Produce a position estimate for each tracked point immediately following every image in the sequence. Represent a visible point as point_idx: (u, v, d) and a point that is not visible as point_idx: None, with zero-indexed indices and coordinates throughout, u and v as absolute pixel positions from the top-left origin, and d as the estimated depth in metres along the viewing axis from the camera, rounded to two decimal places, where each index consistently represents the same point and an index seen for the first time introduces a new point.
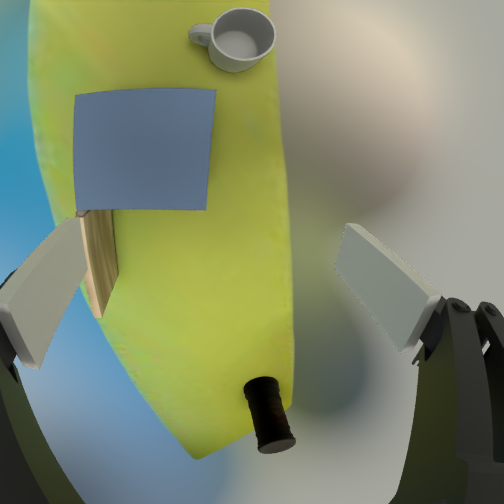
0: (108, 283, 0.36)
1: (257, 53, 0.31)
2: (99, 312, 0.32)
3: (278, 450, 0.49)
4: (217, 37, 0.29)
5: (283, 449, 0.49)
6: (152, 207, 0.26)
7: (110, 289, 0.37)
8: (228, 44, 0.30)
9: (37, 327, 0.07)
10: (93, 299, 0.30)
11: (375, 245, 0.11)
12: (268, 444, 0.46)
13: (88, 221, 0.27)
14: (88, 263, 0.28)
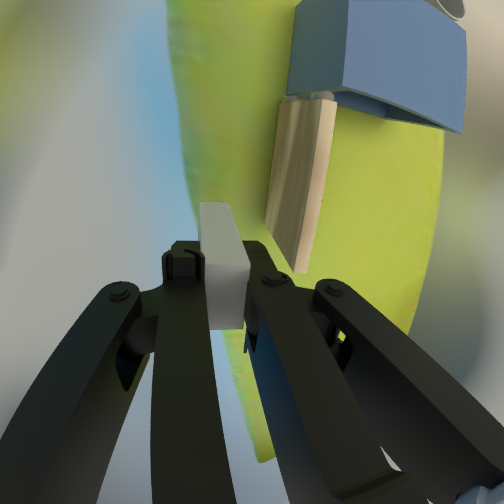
0: None
1: None
2: (306, 262, 0.23)
3: None
4: None
5: None
6: (426, 114, 0.17)
7: None
8: None
9: None
10: (307, 239, 0.22)
11: (220, 219, 0.12)
12: None
13: None
14: (323, 175, 0.19)
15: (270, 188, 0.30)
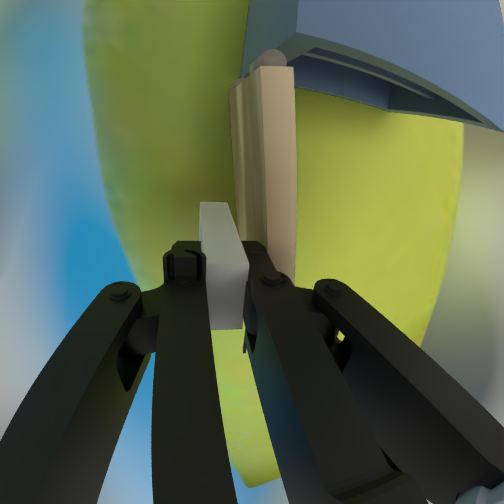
0: None
1: None
2: None
3: None
4: None
5: None
6: (461, 96, 0.08)
7: None
8: None
9: None
10: None
11: (219, 219, 0.12)
12: None
13: None
14: (291, 213, 0.11)
15: (237, 217, 0.21)
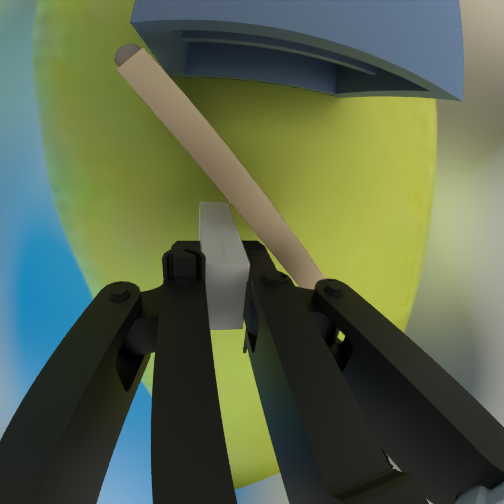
0: None
1: None
2: None
3: None
4: None
5: None
6: (376, 52, 0.07)
7: None
8: None
9: None
10: (301, 267, 0.12)
11: (219, 219, 0.12)
12: None
13: None
14: (236, 166, 0.10)
15: None
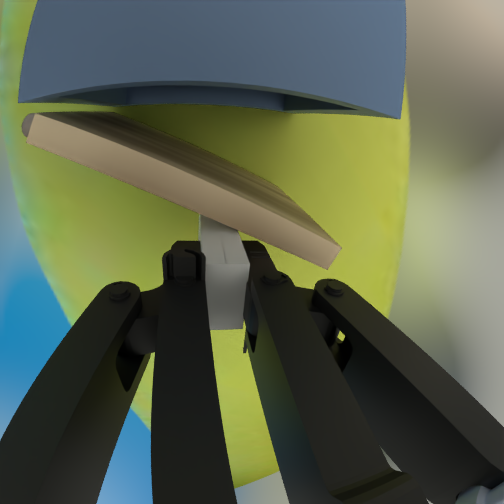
0: (274, 194, 0.16)
1: None
2: (325, 243, 0.12)
3: None
4: None
5: None
6: (262, 79, 0.07)
7: (291, 202, 0.17)
8: None
9: None
10: (279, 232, 0.11)
11: None
12: None
13: (68, 118, 0.08)
14: (158, 166, 0.09)
15: None
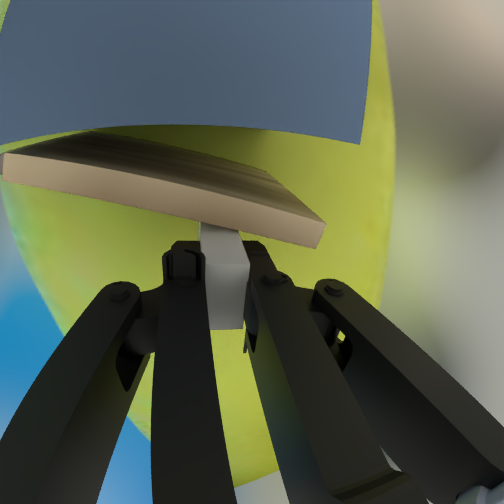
0: (256, 180, 0.15)
1: None
2: (306, 222, 0.11)
3: None
4: None
5: None
6: (202, 118, 0.08)
7: (276, 185, 0.16)
8: None
9: None
10: (254, 218, 0.10)
11: None
12: None
13: (36, 149, 0.08)
14: (119, 176, 0.09)
15: None
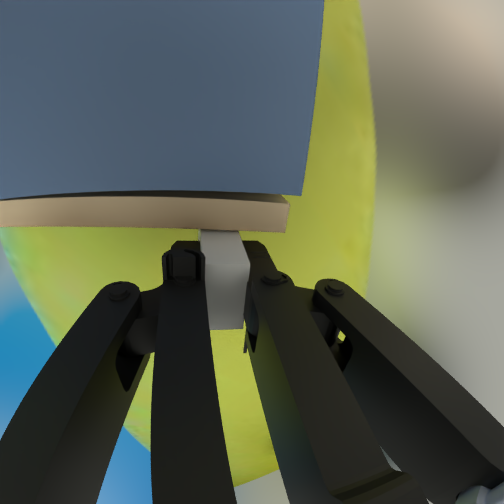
0: None
1: None
2: (266, 206, 0.10)
3: None
4: None
5: None
6: (138, 184, 0.08)
7: None
8: None
9: None
10: (209, 213, 0.10)
11: None
12: None
13: None
14: (76, 202, 0.09)
15: None
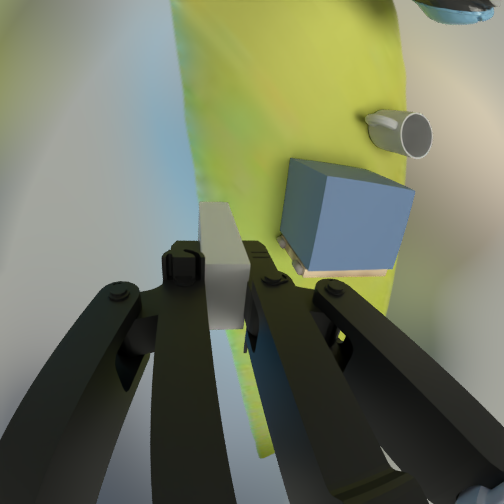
0: None
1: None
2: (382, 270, 0.38)
3: None
4: None
5: None
6: (364, 268, 0.36)
7: None
8: None
9: None
10: (371, 272, 0.38)
11: (220, 219, 0.12)
12: None
13: None
14: None
15: None
